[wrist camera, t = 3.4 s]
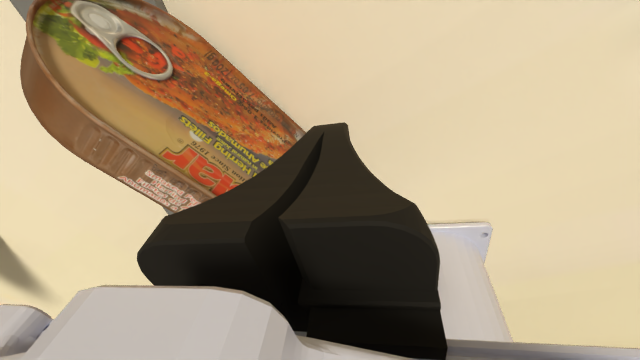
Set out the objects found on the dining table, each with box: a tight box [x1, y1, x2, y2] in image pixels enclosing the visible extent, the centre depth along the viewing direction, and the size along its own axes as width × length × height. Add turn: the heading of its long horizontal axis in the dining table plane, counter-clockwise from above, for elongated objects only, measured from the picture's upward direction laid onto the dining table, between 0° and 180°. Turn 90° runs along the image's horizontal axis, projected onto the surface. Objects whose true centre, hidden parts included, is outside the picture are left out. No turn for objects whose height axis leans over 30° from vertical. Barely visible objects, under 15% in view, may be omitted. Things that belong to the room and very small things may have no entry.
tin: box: [20, 0, 306, 213], centre depth 14 cm, size 15×3×8 cm, turn 44°
